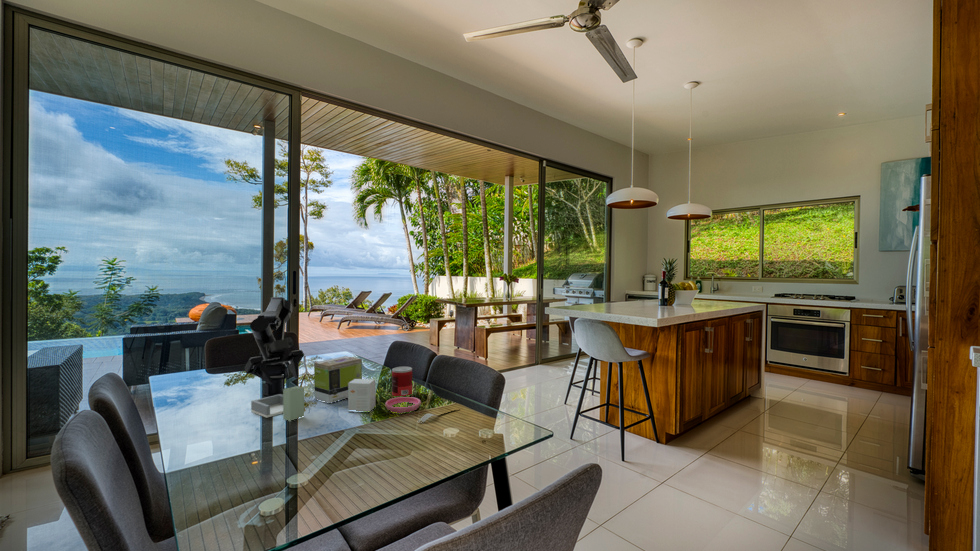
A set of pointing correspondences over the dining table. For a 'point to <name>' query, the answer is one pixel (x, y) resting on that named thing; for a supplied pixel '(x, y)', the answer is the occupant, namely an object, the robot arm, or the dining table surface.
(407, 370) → the canned food
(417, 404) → the pink shallow round dish
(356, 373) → the tea box
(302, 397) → the green block
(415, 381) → the dining table surface
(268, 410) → the keeper bay
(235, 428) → the dining table surface
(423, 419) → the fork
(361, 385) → the small box
